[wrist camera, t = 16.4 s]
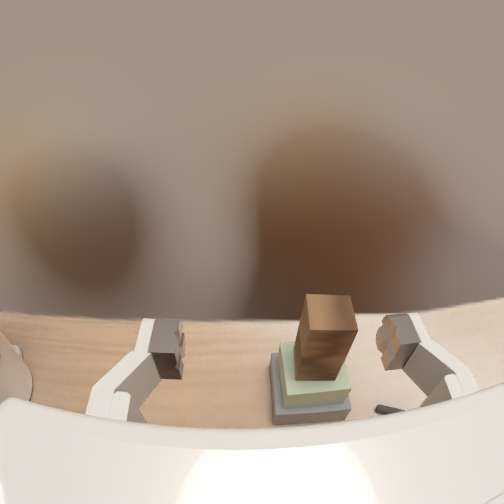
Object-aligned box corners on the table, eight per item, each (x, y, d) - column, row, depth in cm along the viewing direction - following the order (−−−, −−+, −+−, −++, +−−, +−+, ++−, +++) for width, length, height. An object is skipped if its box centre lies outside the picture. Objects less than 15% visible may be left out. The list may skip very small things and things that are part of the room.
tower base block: (273, 426, 39) (275, 414, 37) (269, 367, 47) (271, 352, 45) (343, 420, 39) (351, 409, 37) (332, 364, 47) (338, 350, 45)
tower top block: (283, 408, 37) (287, 395, 35) (277, 359, 44) (280, 342, 41) (343, 402, 38) (351, 388, 35) (331, 355, 44) (337, 338, 42)
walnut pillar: (295, 380, 36) (309, 329, 30) (293, 348, 40) (306, 294, 34) (334, 380, 36) (358, 330, 30) (330, 348, 40) (349, 295, 34)
